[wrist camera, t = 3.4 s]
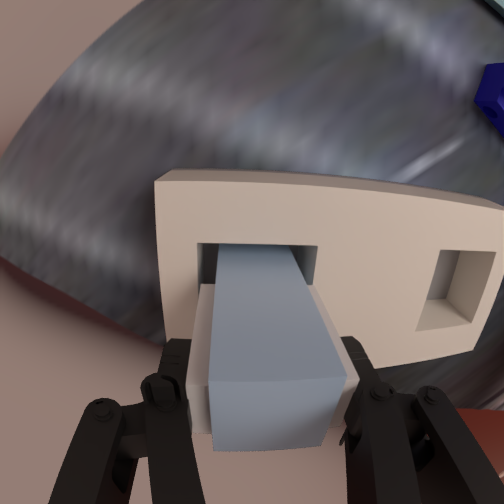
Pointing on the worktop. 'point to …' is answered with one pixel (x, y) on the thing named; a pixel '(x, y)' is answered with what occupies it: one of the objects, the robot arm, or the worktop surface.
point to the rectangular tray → (497, 5)
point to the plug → (269, 354)
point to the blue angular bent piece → (492, 95)
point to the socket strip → (341, 252)
